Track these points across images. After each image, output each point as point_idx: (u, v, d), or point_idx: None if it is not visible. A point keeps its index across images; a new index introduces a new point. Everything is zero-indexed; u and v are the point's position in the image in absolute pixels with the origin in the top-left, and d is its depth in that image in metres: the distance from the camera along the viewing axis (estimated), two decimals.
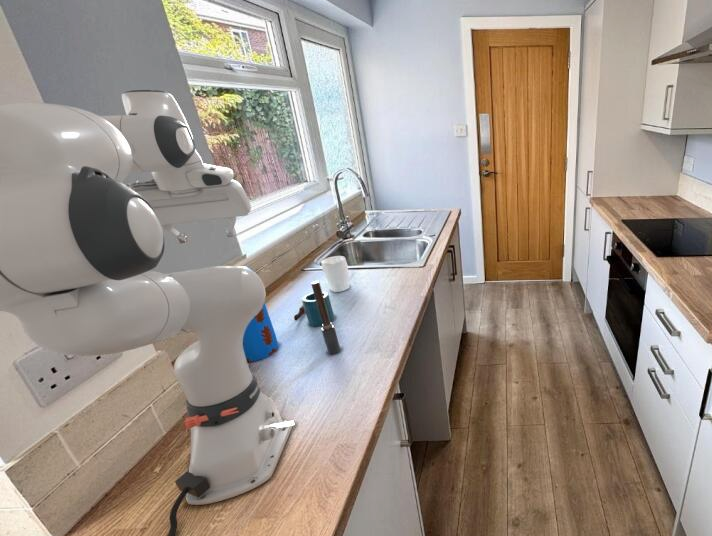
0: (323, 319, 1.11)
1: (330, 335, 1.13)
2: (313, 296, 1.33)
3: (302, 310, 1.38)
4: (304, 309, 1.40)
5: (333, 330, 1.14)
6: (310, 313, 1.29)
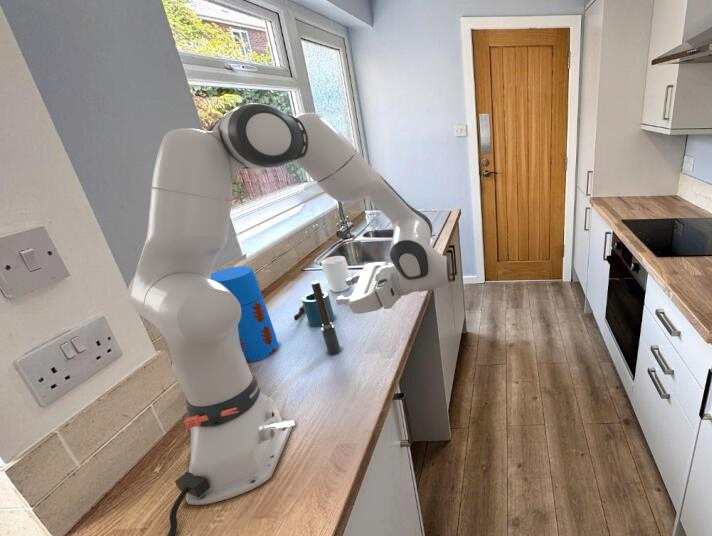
0: (323, 319, 1.11)
1: (330, 335, 1.13)
2: (313, 296, 1.33)
3: (302, 310, 1.38)
4: (304, 309, 1.40)
5: (333, 330, 1.14)
6: (310, 313, 1.29)
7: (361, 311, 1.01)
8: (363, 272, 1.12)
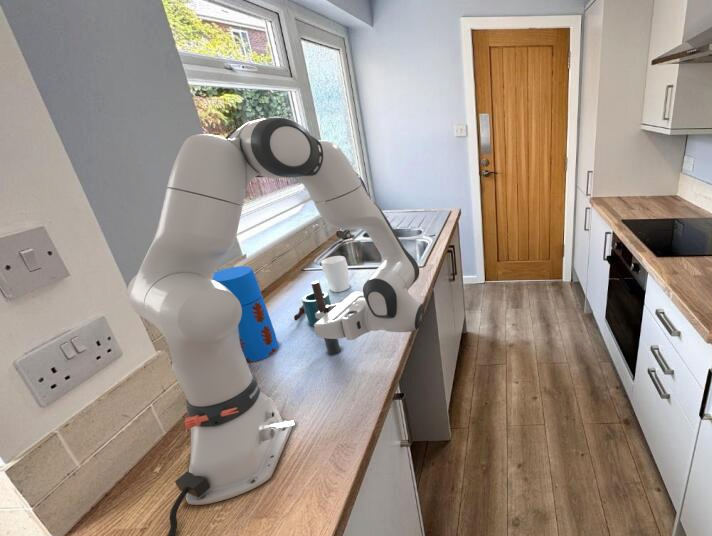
0: None
1: None
2: (313, 296, 1.33)
3: (302, 310, 1.38)
4: (304, 309, 1.40)
5: None
6: (310, 313, 1.29)
7: (323, 336, 1.02)
8: (346, 298, 1.14)
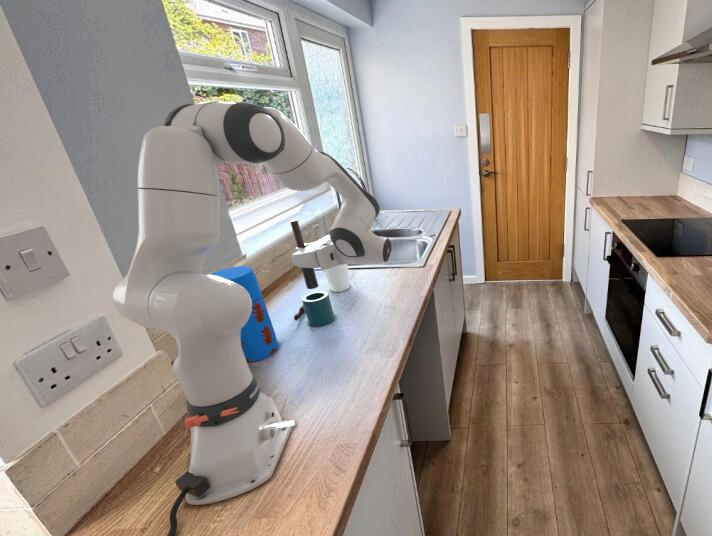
0: None
1: (308, 271, 1.25)
2: (313, 296, 1.33)
3: (302, 310, 1.38)
4: (304, 309, 1.40)
5: None
6: (310, 313, 1.29)
7: (300, 265, 1.14)
8: (323, 238, 1.27)
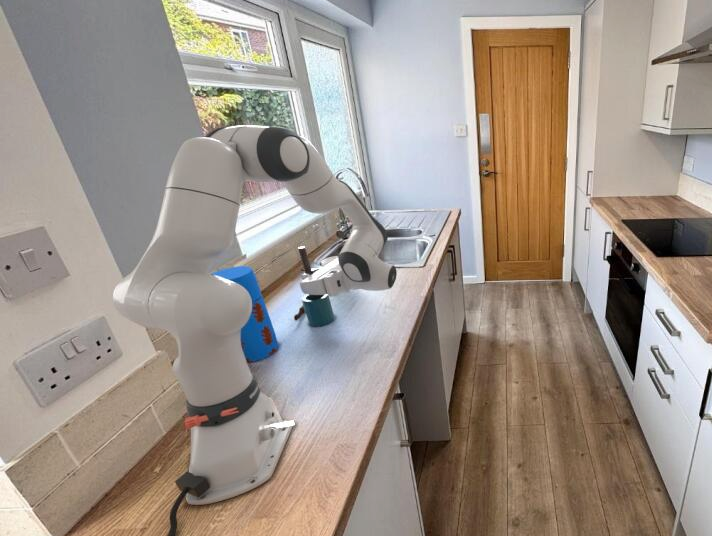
0: None
1: (315, 295, 1.29)
2: None
3: (302, 310, 1.38)
4: (304, 309, 1.40)
5: None
6: (310, 313, 1.29)
7: (308, 292, 1.18)
8: (329, 263, 1.30)
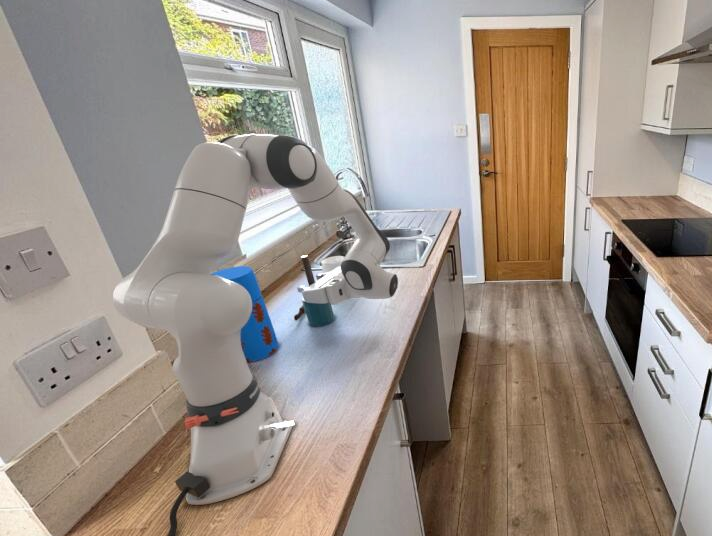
0: None
1: None
2: None
3: (302, 310, 1.38)
4: (304, 309, 1.40)
5: None
6: (310, 313, 1.29)
7: (310, 301, 1.19)
8: (331, 271, 1.31)
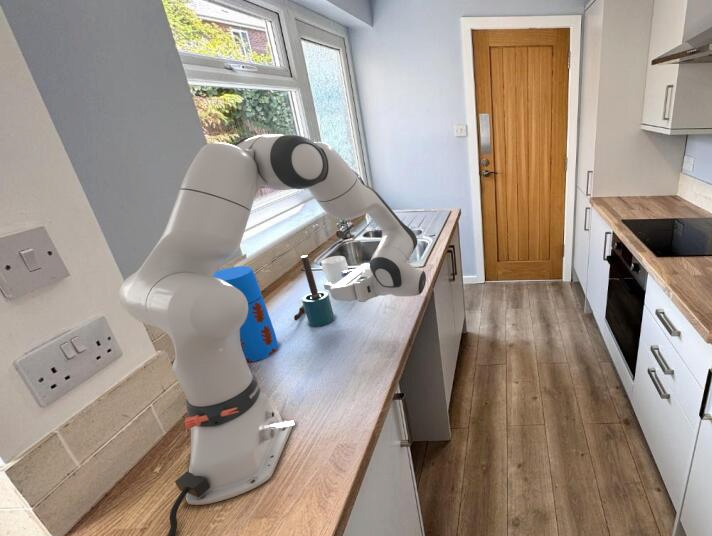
0: (311, 289, 1.29)
1: None
2: None
3: (302, 310, 1.38)
4: (304, 309, 1.40)
5: None
6: (310, 313, 1.29)
7: (338, 298, 1.17)
8: (357, 268, 1.29)
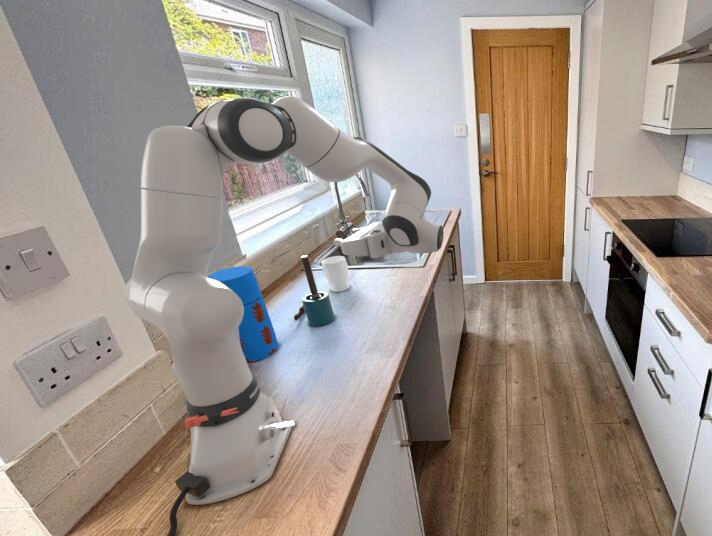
0: (311, 289, 1.29)
1: None
2: None
3: (302, 310, 1.38)
4: (304, 309, 1.40)
5: None
6: (310, 313, 1.29)
7: (349, 253, 1.07)
8: (368, 226, 1.20)
